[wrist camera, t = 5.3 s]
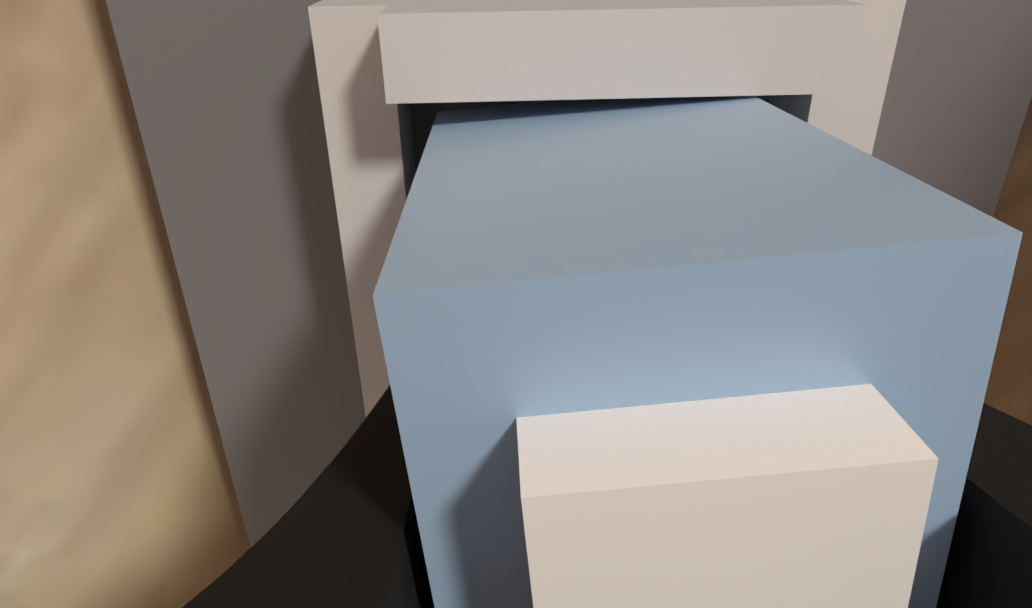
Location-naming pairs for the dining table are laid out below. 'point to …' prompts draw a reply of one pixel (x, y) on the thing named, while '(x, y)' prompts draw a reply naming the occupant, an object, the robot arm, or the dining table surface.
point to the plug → (684, 358)
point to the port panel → (471, 84)
